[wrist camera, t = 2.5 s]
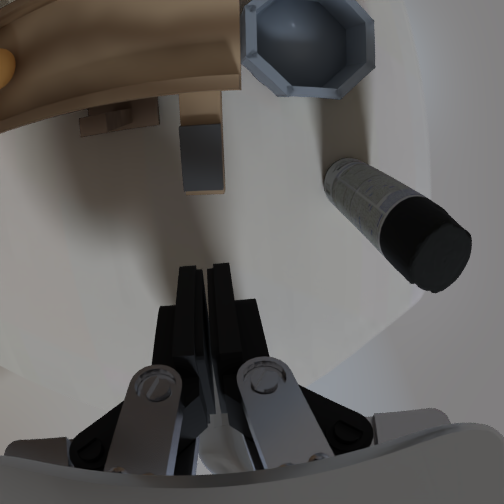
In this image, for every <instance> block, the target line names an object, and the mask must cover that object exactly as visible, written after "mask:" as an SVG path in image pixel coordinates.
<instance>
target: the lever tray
mask: <svg viewBox="0 0 504 504" xmlns="http://www.w3.org/2000/svg"><path fill="white" fill-rule="evenodd" d="M0 48H3V49H7V50H9V51H10V52H11V53H12V54H13V55H14V58H15V61H16V67H15V72H14V75H13V77H12V78H11V80H10V81H9V83H8V84H7V85H6V86H4V87H3V88H1V89H0V134H1V133H3V132H6V131H9V130H12V129H15V128H18V127H21V126H24V125H28V124H31V123H34V122H38V121H41V120H44V119H48V118H52V117H55V116H59V115H63V114H67V113H71V112H75V111H79V110H84V109H88V108H93V107H98V106H103V105H108V104H113V103H119V102H124V101H130V100H137V99H143V98H150V97H158V96H166V95H175V94H179V105H180V123H181V126H180V127H179V137H180V150H181V163H182V175H183V186H184V192H185V191H186V195H206V194H224V193H225V170H224V148H223V122H222V93H221V91H226V90H241V50H240V0H15V1H13V2H12V3H10V4H8V5H6V6H5V7H3V8H1V9H0Z"/></svg>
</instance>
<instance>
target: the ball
mask: <svg viewBox="0 0 504 504" xmlns="http://www.w3.org/2000/svg"><path fill="white" fill-rule="evenodd" d="M15 67H16V61H15V58H14V55H13V54H12V53H11V52H10V51H9V50H7V49H3V48H0V89H1V88H3V87H4V86H6V85H7V84H8V83H9V81H10V80H11V78H12V77H13V75H14V72H15Z"/></svg>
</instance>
